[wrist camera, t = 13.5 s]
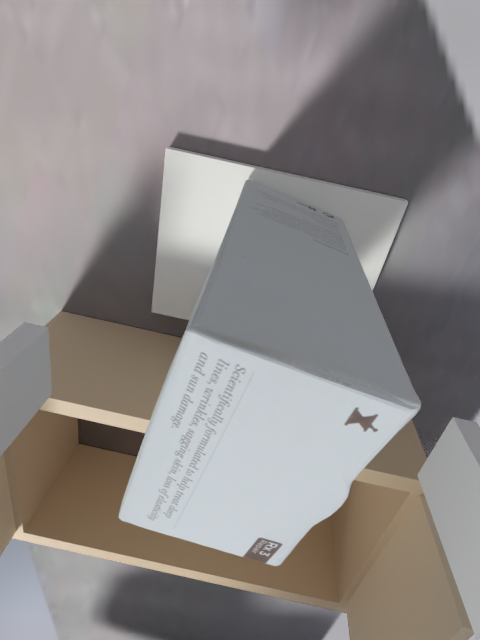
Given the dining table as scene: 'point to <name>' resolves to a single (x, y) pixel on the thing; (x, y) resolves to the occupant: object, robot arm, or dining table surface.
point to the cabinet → (205, 562)
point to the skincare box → (270, 388)
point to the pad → (217, 209)
